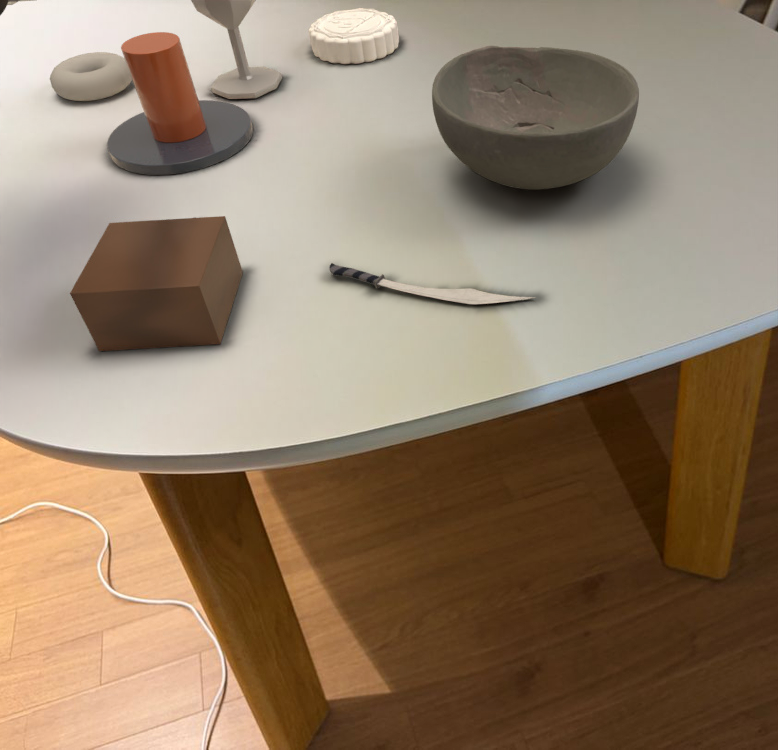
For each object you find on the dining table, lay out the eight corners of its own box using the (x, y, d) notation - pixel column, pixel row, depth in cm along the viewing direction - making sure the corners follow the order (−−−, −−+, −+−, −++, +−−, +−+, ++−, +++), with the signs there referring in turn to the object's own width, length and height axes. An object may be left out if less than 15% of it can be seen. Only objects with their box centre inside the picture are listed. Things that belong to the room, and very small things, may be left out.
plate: (91, 179, 87) (87, 169, 86) (133, 113, 98) (130, 103, 98) (239, 170, 87) (236, 160, 86) (263, 105, 99) (261, 96, 98)
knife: (321, 284, 71) (319, 275, 71) (332, 268, 73) (330, 259, 72) (530, 315, 67) (530, 306, 66) (537, 297, 69) (537, 288, 68)
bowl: (481, 245, 75) (475, 147, 68) (415, 150, 89) (404, 60, 82) (669, 196, 80) (681, 99, 73) (579, 113, 94) (581, 26, 87)
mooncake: (344, 26, 117) (340, 1, 114) (415, 37, 113) (412, 11, 110) (295, 57, 109) (289, 30, 107) (369, 70, 105) (365, 42, 103)
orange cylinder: (146, 144, 90) (113, 55, 83) (160, 120, 94) (130, 33, 87) (200, 141, 90) (171, 52, 83) (211, 117, 94) (185, 30, 87)
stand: (99, 351, 66) (69, 293, 62) (133, 278, 73) (109, 222, 69) (220, 344, 66) (199, 285, 62) (243, 272, 73) (225, 215, 69)
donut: (72, 76, 108) (44, 107, 100) (62, 50, 106) (32, 80, 98) (146, 72, 108) (123, 103, 100) (138, 46, 106) (113, 76, 98)
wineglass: (237, 69, 107) (190, -110, 93) (294, 76, 105) (255, -107, 90) (199, 97, 101) (142, -90, 87) (259, 104, 99) (210, -86, 84)
